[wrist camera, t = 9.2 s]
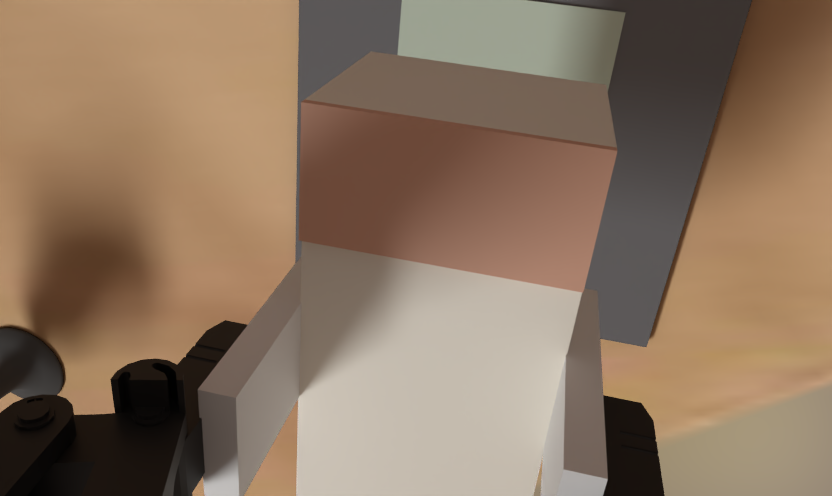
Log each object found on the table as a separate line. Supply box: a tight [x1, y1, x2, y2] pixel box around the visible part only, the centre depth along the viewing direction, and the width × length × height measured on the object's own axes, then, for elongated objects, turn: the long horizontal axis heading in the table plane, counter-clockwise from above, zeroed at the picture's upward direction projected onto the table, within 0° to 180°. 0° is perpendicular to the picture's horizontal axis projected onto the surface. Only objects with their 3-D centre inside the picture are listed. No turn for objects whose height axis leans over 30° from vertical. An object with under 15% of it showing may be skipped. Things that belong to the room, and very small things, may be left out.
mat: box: [296, 0, 752, 347], centre depth 26 cm, size 22×16×1 cm
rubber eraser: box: [296, 51, 617, 496], centre depth 18 cm, size 12×6×5 cm, turn 175°
